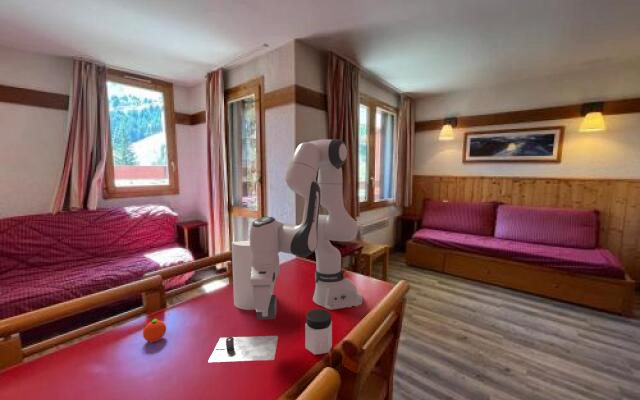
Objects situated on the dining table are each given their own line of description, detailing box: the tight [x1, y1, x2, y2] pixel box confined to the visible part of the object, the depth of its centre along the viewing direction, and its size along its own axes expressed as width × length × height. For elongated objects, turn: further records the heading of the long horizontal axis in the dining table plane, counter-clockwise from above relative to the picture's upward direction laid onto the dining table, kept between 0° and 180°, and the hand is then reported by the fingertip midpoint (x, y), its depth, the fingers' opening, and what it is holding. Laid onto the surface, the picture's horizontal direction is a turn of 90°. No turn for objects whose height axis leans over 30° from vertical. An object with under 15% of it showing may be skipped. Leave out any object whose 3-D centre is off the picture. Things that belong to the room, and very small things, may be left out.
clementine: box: [142, 318, 167, 343], centre depth 95 cm, size 8×7×7 cm
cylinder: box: [231, 239, 274, 311], centre depth 122 cm, size 17×17×28 cm
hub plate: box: [207, 335, 279, 363], centre depth 89 cm, size 20×12×4 cm, turn 93°
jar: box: [304, 308, 333, 356], centre depth 90 cm, size 9×8×12 cm
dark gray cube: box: [256, 294, 278, 320], centre depth 88 cm, size 6×6×6 cm
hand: (267, 309), depth 88 cm, fingers closed on dark gray cube, 6 cm apart
